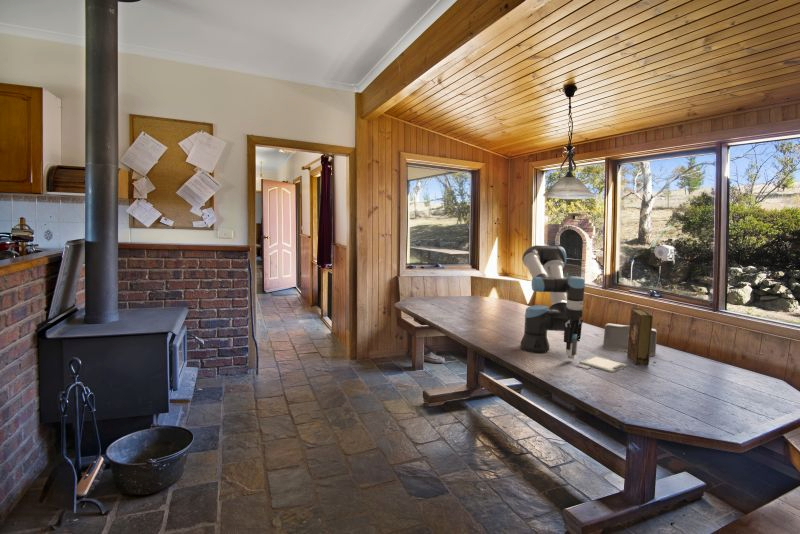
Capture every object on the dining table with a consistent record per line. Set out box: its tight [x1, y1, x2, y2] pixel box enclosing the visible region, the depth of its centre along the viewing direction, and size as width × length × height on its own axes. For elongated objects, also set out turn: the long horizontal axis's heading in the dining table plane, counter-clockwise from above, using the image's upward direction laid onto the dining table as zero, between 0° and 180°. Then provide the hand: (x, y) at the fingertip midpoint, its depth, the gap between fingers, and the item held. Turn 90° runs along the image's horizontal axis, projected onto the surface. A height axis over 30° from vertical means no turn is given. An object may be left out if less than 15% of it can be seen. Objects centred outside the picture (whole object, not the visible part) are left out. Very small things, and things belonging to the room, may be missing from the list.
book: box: [626, 307, 654, 366], centre depth 224 cm, size 16×6×25 cm, turn 168°
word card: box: [575, 363, 593, 370], centre depth 214 cm, size 6×4×1 cm, turn 39°
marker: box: [567, 333, 578, 360], centre depth 221 cm, size 4×4×12 cm
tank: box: [602, 323, 658, 357], centre depth 246 cm, size 25×16×12 cm, turn 62°
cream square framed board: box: [579, 355, 628, 373], centre depth 218 cm, size 16×15×1 cm
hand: (571, 354), depth 222 cm, fingers closed on marker, 4 cm apart
